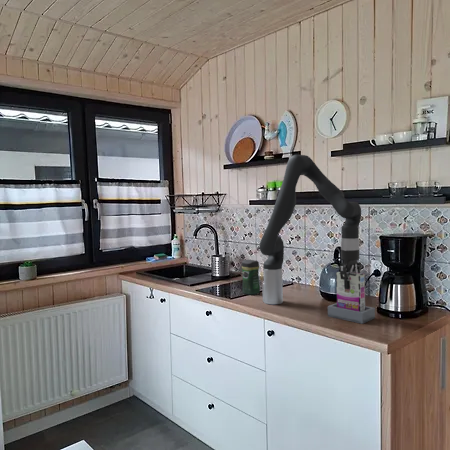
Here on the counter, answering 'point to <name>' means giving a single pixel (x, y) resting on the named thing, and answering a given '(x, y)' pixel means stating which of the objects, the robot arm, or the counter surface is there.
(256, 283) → the coffee jar
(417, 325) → the counter surface
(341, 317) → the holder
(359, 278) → the candy bar box
